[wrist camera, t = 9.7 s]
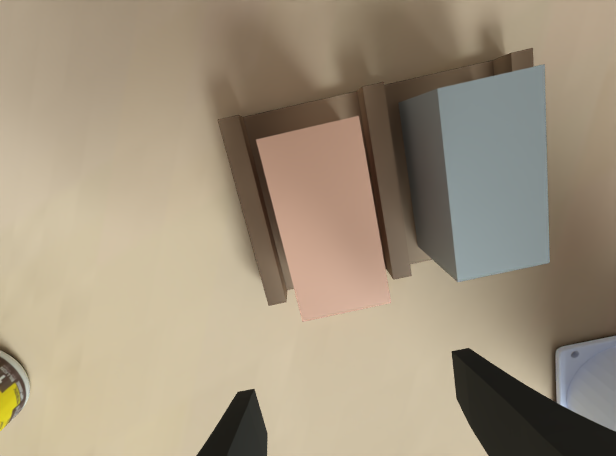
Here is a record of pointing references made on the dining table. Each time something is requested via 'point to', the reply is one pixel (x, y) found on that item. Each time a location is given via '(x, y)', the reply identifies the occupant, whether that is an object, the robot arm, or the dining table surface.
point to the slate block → (480, 173)
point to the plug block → (326, 217)
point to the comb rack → (379, 154)
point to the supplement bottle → (12, 388)
